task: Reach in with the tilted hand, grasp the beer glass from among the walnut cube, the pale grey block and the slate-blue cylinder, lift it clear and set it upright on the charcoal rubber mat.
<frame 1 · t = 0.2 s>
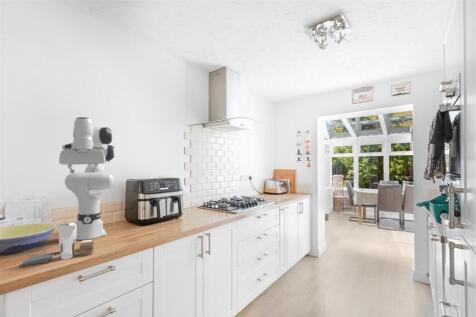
hand: (83, 172, 121), 39 cm above the countertop, tool pointing down, fingers open, 8 cm apart
pale grey block: (85, 249, 118), on the countertop
beer glass: (66, 257, 107), on the countertop
charcoal mat: (39, 259, 104), on the countertop
walnut cube: (86, 253, 112), on the countertop
slate-blue cylinder: (66, 251, 115), on the countertop
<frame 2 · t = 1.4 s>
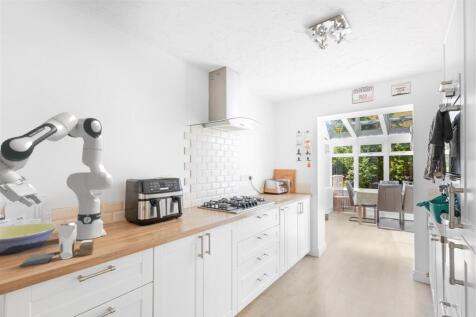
hand: (35, 204, 104), 25 cm above the countertop, tool tilted 45°, fingers open, 8 cm apart
nothing on the countertop moved.
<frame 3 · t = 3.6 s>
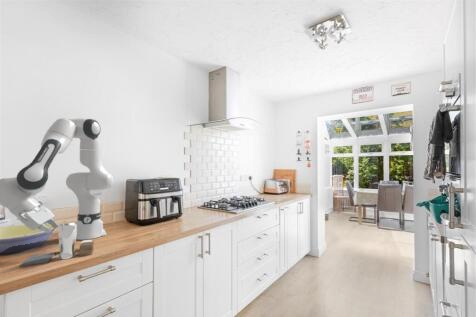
hand: (53, 229, 106), 13 cm above the countertop, tool tilted 45°, fingers open, 8 cm apart
nothing on the countertop moved.
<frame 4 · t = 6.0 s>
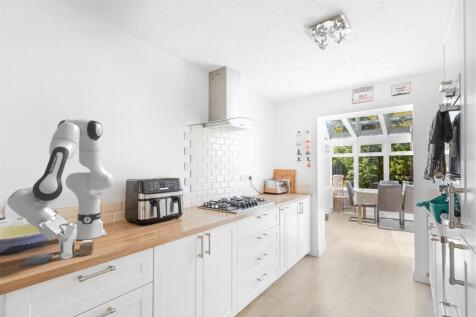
hand: (69, 238, 108), 8 cm above the countertop, tool tilted 45°, fingers closed on beer glass, 7 cm apart
beer glass: (66, 257, 107), on the countertop, touching gripper
everything else where it was.
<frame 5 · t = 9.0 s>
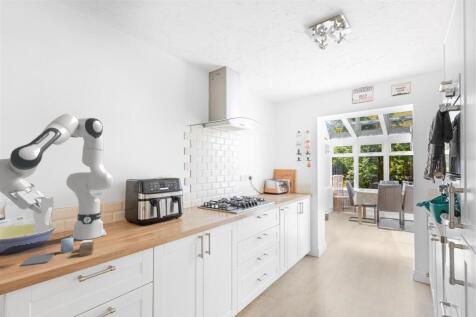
hand: (44, 211, 106), 21 cm above the countertop, tool tilted 45°, fingers closed on beer glass, 7 cm apart
beer glass: (41, 231, 105), point 12 cm above the countertop, touching gripper
everything else where it was.
when the fingers open (10 cm above the countertop, at t = 12.1 s): beer glass stays where it is, resting on charcoal mat.
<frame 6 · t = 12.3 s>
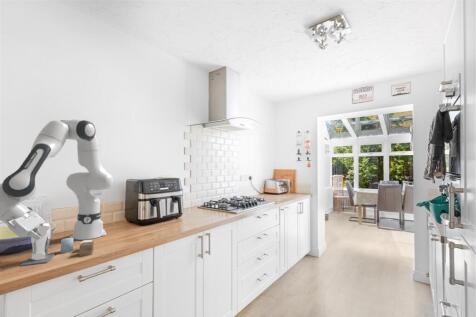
hand: (43, 235, 105), 10 cm above the countertop, tool tilted 45°, fingers open, 8 cm apart
beer glass: (40, 258, 104), resting on charcoal mat
everything else where it was.
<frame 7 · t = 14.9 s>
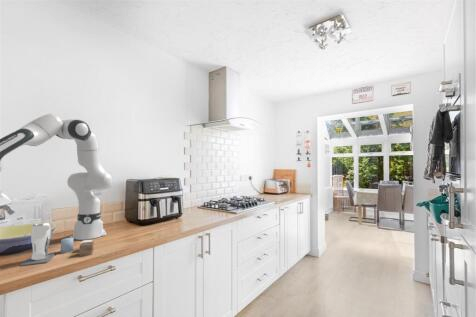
hand: (7, 215, 101), 20 cm above the countertop, tool tilted 45°, fingers open, 8 cm apart
nothing on the countertop moved.
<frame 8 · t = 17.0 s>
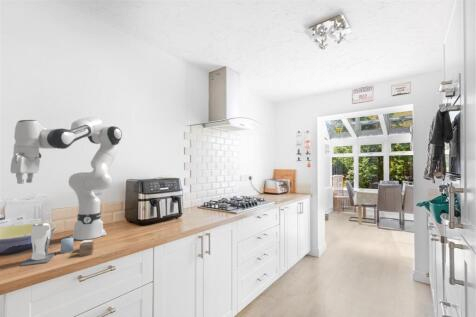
hand: (24, 183, 108), 34 cm above the countertop, tool pointing down, fingers open, 8 cm apart
nothing on the countertop moved.
at the end: beer glass inside the target area on the charcoal mat (0.4 cm from its centre), point 0.3 cm above the charcoal mat's base; beer glass tilted 0°; the gripper is holding nothing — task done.
